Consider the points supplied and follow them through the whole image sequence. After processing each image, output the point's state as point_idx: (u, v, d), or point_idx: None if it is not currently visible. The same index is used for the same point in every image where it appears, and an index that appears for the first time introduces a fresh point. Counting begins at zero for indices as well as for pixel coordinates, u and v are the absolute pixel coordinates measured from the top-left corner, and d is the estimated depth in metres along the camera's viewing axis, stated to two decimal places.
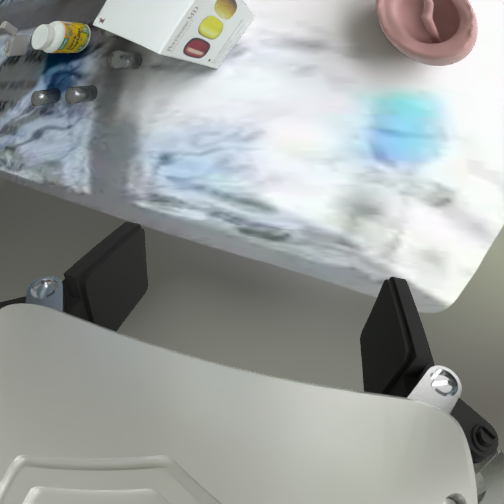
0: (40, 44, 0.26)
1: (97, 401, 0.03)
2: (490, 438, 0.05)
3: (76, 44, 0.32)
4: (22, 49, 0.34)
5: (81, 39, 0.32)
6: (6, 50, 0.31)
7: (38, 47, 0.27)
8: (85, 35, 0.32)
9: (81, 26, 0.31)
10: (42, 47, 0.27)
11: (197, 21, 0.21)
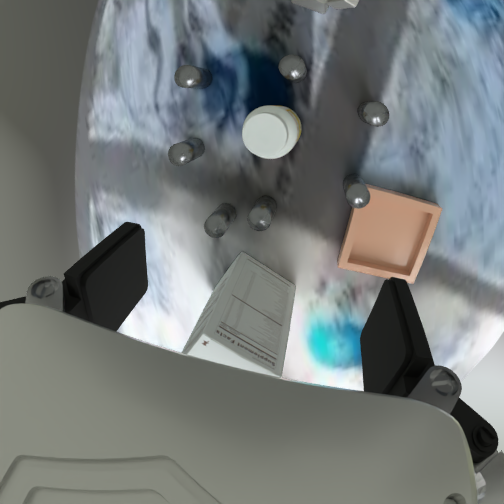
0: (248, 139, 0.26)
1: (97, 401, 0.03)
2: (490, 438, 0.05)
3: None
4: (300, 3, 0.25)
5: None
6: None
7: (244, 134, 0.26)
8: None
9: None
10: None
11: None
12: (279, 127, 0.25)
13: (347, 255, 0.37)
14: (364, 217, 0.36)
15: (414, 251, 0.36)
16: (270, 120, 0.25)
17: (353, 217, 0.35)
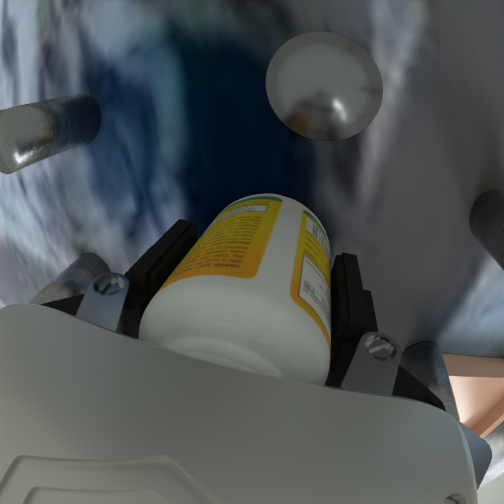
0: None
1: (97, 401, 0.03)
2: None
3: None
4: None
5: None
6: None
7: None
8: None
9: None
10: None
11: None
12: None
13: None
14: None
15: (480, 419, 0.17)
16: None
17: None
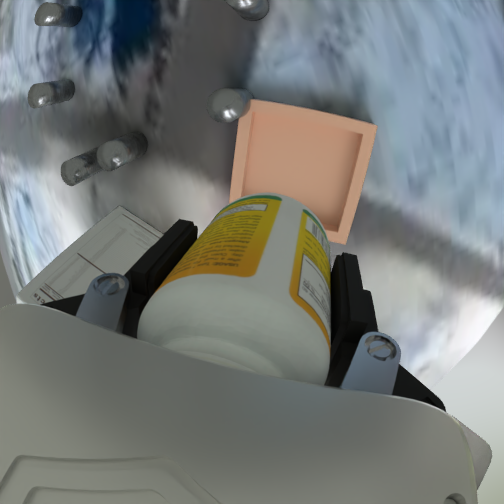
0: None
1: (97, 401, 0.03)
2: None
3: None
4: None
5: None
6: None
7: None
8: None
9: None
10: None
11: None
12: None
13: None
14: (258, 146, 0.25)
15: (343, 195, 0.26)
16: None
17: (237, 144, 0.24)
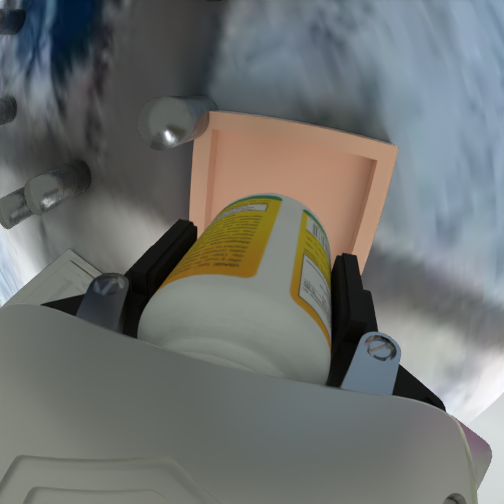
0: None
1: (97, 401, 0.03)
2: None
3: None
4: None
5: None
6: None
7: None
8: None
9: None
10: None
11: None
12: None
13: None
14: (225, 178, 0.18)
15: (347, 246, 0.19)
16: None
17: (193, 178, 0.17)
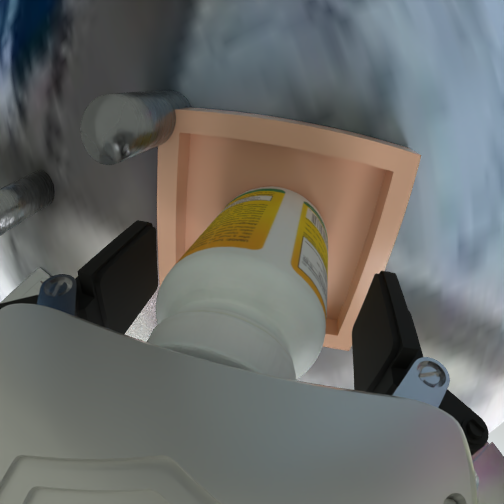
0: None
1: (97, 401, 0.03)
2: (480, 431, 0.05)
3: None
4: None
5: None
6: None
7: None
8: None
9: None
10: None
11: None
12: None
13: None
14: (200, 192, 0.15)
15: (351, 275, 0.15)
16: None
17: (160, 194, 0.14)
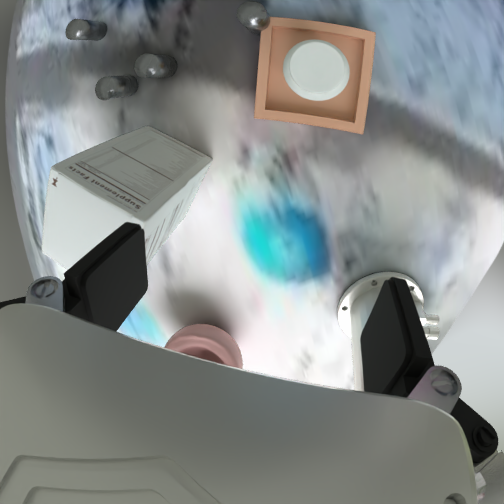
0: (297, 71, 0.19)
1: (97, 401, 0.03)
2: (490, 438, 0.05)
3: None
4: None
5: None
6: None
7: (292, 65, 0.18)
8: None
9: None
10: (290, 72, 0.19)
11: None
12: (335, 58, 0.18)
13: (263, 100, 0.27)
14: (278, 55, 0.26)
15: (355, 93, 0.26)
16: (324, 50, 0.17)
17: (261, 52, 0.25)
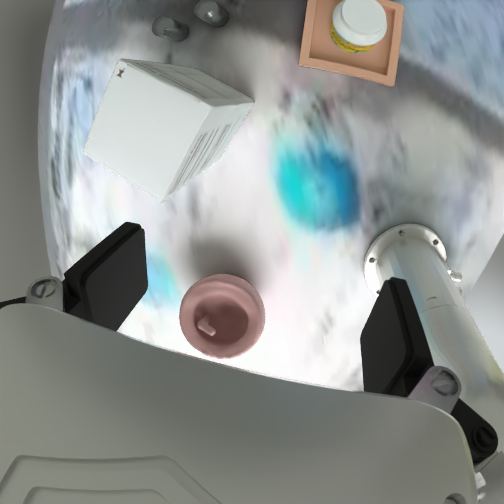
0: (348, 14, 0.19)
1: (97, 401, 0.03)
2: (490, 438, 0.05)
3: (338, 42, 0.25)
4: None
5: (345, 48, 0.26)
6: None
7: (344, 10, 0.19)
8: (350, 51, 0.27)
9: (367, 49, 0.26)
10: (342, 15, 0.19)
11: None
12: (379, 9, 0.18)
13: (307, 49, 0.28)
14: (321, 16, 0.26)
15: (387, 53, 0.27)
16: (370, 2, 0.18)
17: (307, 10, 0.25)
